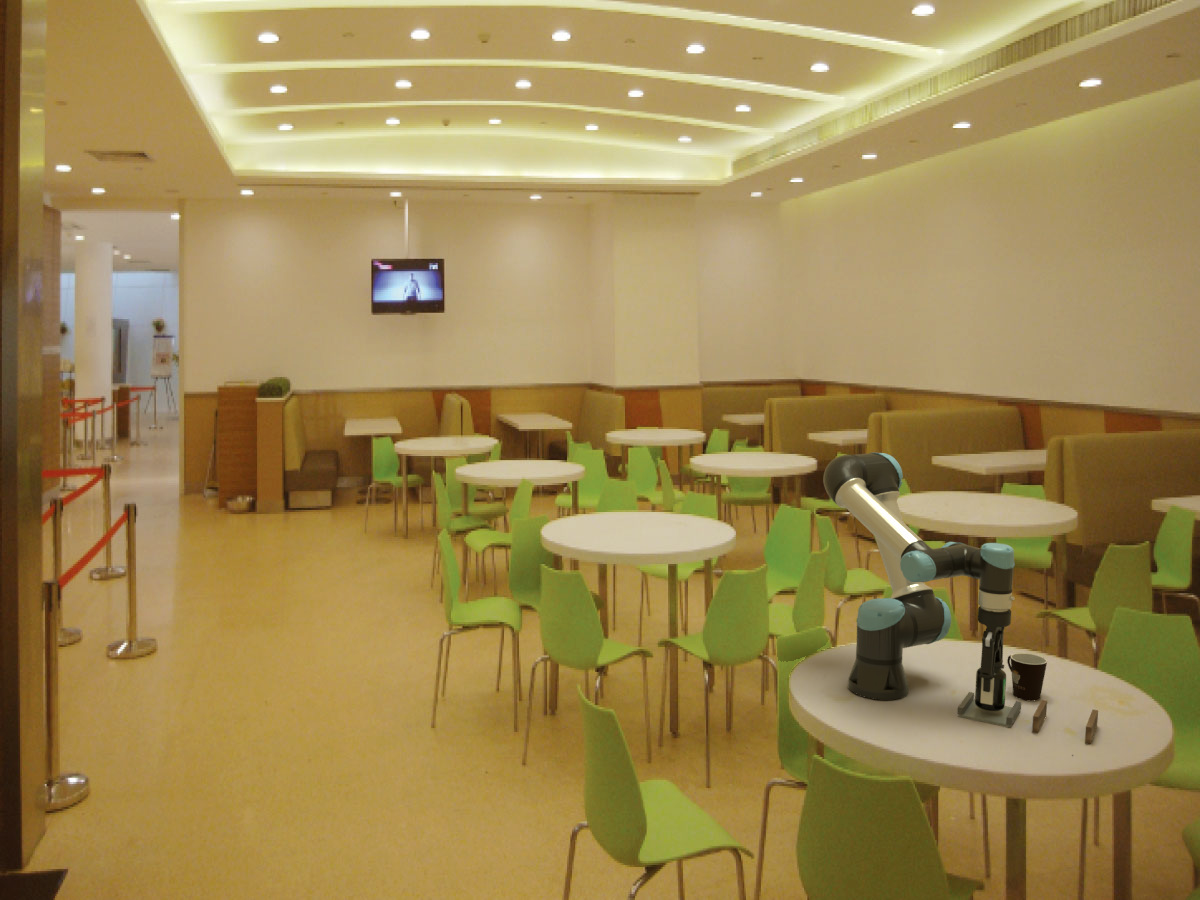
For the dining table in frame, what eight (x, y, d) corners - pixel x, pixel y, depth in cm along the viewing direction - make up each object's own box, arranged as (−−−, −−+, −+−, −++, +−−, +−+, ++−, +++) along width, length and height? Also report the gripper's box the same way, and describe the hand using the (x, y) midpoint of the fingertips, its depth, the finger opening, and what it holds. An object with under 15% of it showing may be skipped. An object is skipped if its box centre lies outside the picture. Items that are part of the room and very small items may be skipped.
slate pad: (957, 716, 240) (957, 707, 239) (968, 700, 250) (969, 691, 249) (1011, 727, 233) (1011, 718, 233) (1020, 711, 243) (1021, 702, 243)
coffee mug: (1048, 703, 248) (1050, 665, 247) (1012, 701, 250) (1014, 663, 248) (1037, 687, 259) (1039, 650, 258) (1003, 684, 261) (1005, 648, 260)
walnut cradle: (1032, 732, 231) (1033, 715, 230) (1040, 715, 240) (1041, 699, 240) (1090, 744, 224) (1091, 727, 223) (1097, 726, 234) (1098, 710, 233)
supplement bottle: (1010, 709, 239) (1013, 662, 238) (988, 713, 237) (990, 665, 235) (990, 699, 246) (993, 653, 244) (968, 703, 243) (970, 656, 242)
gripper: (1002, 620, 228) (997, 715, 231) (1019, 600, 244) (1013, 689, 247) (969, 615, 232) (964, 708, 235) (987, 595, 248) (982, 683, 251)
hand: (989, 698), depth 241 cm, fingers closed on supplement bottle, 7 cm apart
